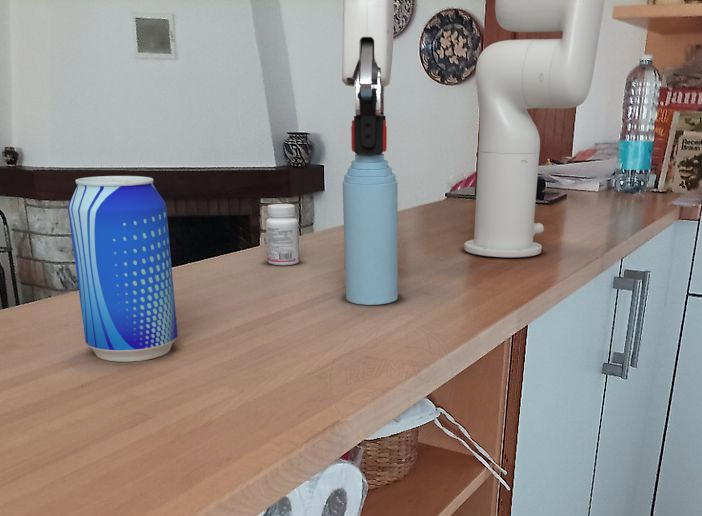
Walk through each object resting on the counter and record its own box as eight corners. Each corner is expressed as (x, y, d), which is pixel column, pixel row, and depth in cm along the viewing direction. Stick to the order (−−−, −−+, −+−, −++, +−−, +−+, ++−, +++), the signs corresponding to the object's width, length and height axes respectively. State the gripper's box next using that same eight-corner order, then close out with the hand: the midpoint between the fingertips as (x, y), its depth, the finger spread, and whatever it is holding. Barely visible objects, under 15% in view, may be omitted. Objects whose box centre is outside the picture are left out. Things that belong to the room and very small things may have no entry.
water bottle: (369, 288, 100) (366, 124, 93) (408, 296, 97) (408, 126, 89) (335, 299, 96) (329, 127, 88) (374, 308, 92) (371, 129, 84)
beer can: (128, 370, 70) (107, 185, 64) (68, 354, 74) (43, 179, 68) (197, 347, 76) (183, 178, 71) (138, 334, 80) (120, 173, 75)
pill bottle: (278, 258, 120) (276, 202, 117) (305, 261, 118) (304, 204, 115) (261, 263, 116) (258, 206, 113) (288, 267, 114) (286, 208, 111)
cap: (355, 152, 87) (354, 121, 86) (349, 149, 91) (348, 119, 90) (389, 152, 88) (389, 121, 87) (382, 149, 92) (382, 119, 90)
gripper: (343, -17, 91) (344, 148, 97) (325, -42, 75) (328, 157, 82) (407, -16, 91) (404, 149, 97) (403, -41, 75) (400, 158, 82)
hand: (370, 151), depth 89 cm, fingers closed on cap, 3 cm apart
